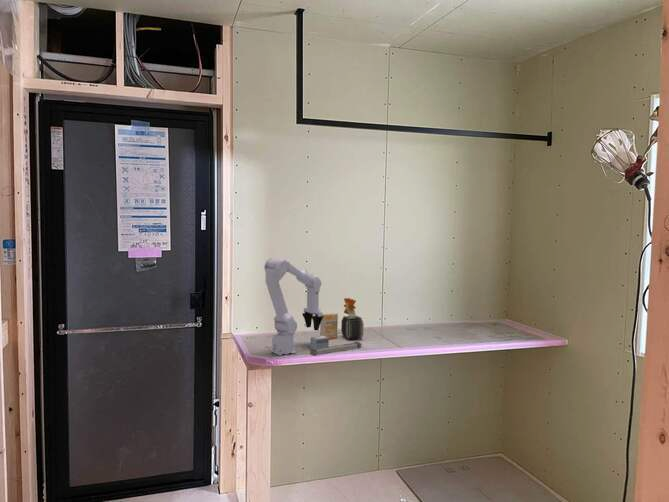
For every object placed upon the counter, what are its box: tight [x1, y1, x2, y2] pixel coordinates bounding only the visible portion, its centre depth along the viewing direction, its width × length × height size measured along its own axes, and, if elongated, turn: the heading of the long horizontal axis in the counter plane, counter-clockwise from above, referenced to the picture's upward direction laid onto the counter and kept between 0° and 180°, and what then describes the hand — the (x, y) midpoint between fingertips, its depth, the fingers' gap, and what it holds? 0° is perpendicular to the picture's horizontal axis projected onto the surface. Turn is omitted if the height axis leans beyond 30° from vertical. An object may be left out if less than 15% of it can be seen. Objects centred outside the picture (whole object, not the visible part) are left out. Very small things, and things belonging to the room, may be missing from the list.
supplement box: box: [319, 312, 339, 340], centre depth 250 cm, size 8×5×13 cm, turn 126°
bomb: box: [340, 297, 365, 341], centre depth 251 cm, size 8×13×20 cm, turn 22°
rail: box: [309, 341, 362, 356], centre depth 224 cm, size 26×4×2 cm, turn 124°
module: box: [310, 335, 330, 349], centre depth 228 cm, size 7×5×6 cm
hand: (312, 328), depth 233 cm, fingers open, 7 cm apart
